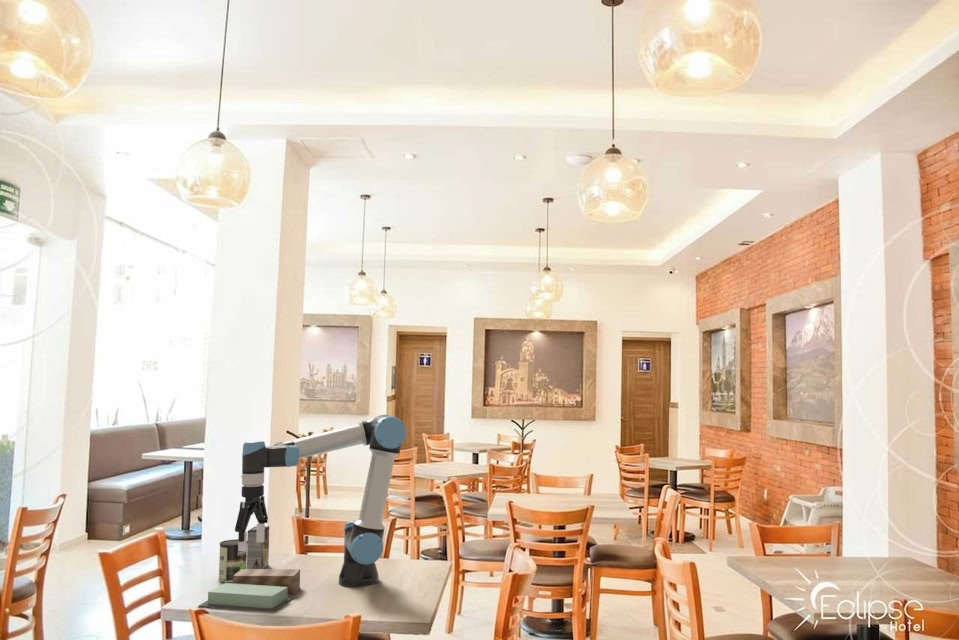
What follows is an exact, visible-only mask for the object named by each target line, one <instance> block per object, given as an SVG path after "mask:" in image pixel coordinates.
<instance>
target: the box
mask: <svg viewBox="0 0 959 640" xmlns="http://www.w3.org/2000/svg"><path fill="white" fill-rule="evenodd" d="M232 583H234V584H249V585H264V586H279V587H288V591H287V596H294V595H295V594H296V593H297V592H298V591H299V589H301V569H299V568H296V569H294V568H286V569H285V568H284V569H283V568H280V569H279V568H278V569H277V568H272V569H271V568H268V569H267V568H264V569H247V568H246V569H241V570H240V571H239V572H237V573H236V574H235V575H233V582H232ZM295 592H296V593H295ZM294 593H295V594H294Z"/></svg>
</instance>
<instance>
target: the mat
mask: <svg viewBox="0 0 959 640" xmlns="http://www.w3.org/2000/svg"><path fill="white" fill-rule="evenodd" d="M293 599H295V596H293V595H287V599H286V600H285V601H283V602H281V603H280V604H278V605H277V606H275V607H274V608H258V607H244V606H230V605H216V604H208V599H207V600H206V601H204V602H202V603H201V604H199V605H198V606H199V607H198V608H202V609H204V607H206V608H207V609H209V608H208V607H214V608H213V609H219V608H229V609H228V610H239V611H240V610H241V611H259V612H260V611H261V612H274V613H275V612H277V611H278V610H281V608H283V607H284V606H286V605H287V604H288V603H290V602H291V601H293ZM206 608H205V609H206Z"/></svg>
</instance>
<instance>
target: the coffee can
mask: <svg viewBox="0 0 959 640" xmlns="http://www.w3.org/2000/svg"><path fill="white" fill-rule="evenodd" d="M218 561H219V563H218V566H219V567H218V581H219V580H220V581H219V582H221V581H227V582H226V583H233V575H235V574H236V573H237V572H239V571H240V570H241V569H247V551H238V538H237V539H235V538H234V539H227V540H222V541H220V542H219V560H218Z"/></svg>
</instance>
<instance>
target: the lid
mask: <svg viewBox="0 0 959 640" xmlns="http://www.w3.org/2000/svg"><path fill="white" fill-rule="evenodd" d="M287 591H288V587H279V586H264V585H249V584H234V583H233V582H224V583H222V584H221V585H219V586H217V587H215V588H213V589H211V590H209V591H208V592H207V600H208V604H216V605H230V606H244V607H258V608H274V607H275V606H277V605H278V604H280V603H281V602H283V601H285V600H286V599H287V596H288V595H287Z"/></svg>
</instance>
